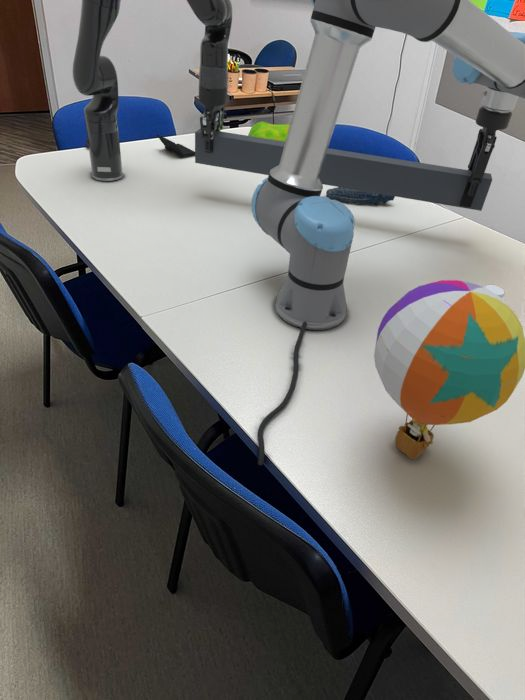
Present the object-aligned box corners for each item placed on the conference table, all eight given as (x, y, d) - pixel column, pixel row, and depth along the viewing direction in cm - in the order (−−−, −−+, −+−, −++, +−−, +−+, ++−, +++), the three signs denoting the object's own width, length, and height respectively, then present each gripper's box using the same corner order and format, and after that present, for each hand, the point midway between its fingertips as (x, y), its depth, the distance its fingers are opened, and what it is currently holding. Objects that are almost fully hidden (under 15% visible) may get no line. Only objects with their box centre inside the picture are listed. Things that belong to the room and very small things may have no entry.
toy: (324, 440, 84) (359, 279, 65) (398, 390, 94) (447, 240, 76) (424, 525, 73) (502, 362, 54) (495, 458, 83) (581, 302, 65)
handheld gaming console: (200, 148, 184) (184, 127, 176) (190, 164, 183) (174, 144, 175) (177, 144, 191) (162, 124, 182) (167, 160, 189) (151, 141, 181)
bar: (480, 204, 139) (491, 173, 134) (481, 211, 136) (492, 179, 131) (200, 158, 151) (200, 128, 146) (195, 163, 148) (194, 132, 143)
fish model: (393, 208, 159) (397, 192, 156) (325, 201, 160) (327, 185, 157) (391, 200, 165) (395, 185, 161) (325, 193, 165) (328, 178, 162)
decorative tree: (214, 118, 187) (294, 118, 193) (214, 147, 194) (292, 146, 199) (220, 132, 174) (307, 132, 179) (220, 164, 180) (304, 162, 185)
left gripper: (208, 76, 142) (207, 140, 153) (190, 87, 131) (190, 155, 142) (235, 80, 141) (232, 144, 152) (218, 91, 130) (216, 160, 141)
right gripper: (477, 98, 130) (449, 188, 145) (483, 115, 117) (451, 212, 132) (508, 102, 129) (477, 193, 144) (517, 120, 116) (481, 218, 130)
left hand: (211, 149), depth 147 cm, fingers closed on bar, 4 cm apart
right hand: (464, 202), depth 138 cm, fingers closed on bar, 4 cm apart
